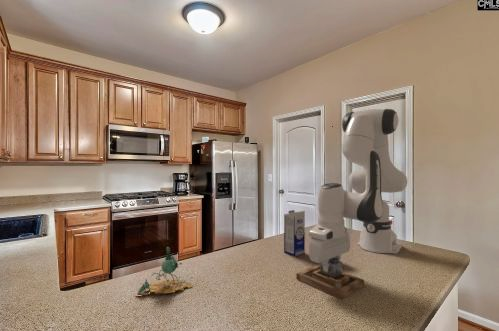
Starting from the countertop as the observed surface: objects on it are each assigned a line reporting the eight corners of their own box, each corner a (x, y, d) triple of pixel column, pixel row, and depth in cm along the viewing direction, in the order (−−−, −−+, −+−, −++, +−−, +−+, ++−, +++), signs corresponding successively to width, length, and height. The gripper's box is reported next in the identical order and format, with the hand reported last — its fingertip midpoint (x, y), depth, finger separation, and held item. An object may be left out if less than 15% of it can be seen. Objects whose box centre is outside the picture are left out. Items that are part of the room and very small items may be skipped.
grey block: (326, 270, 90) (326, 254, 90) (341, 276, 85) (341, 259, 86) (320, 273, 88) (320, 257, 88) (335, 279, 83) (335, 262, 83)
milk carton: (294, 256, 110) (294, 212, 110) (283, 252, 115) (283, 210, 116) (304, 253, 115) (305, 210, 115) (293, 249, 120) (293, 208, 120)
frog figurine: (138, 286, 83) (143, 241, 84) (192, 285, 87) (197, 243, 88) (132, 300, 74) (139, 250, 74) (193, 299, 78) (199, 252, 79)
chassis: (319, 268, 97) (319, 261, 97) (363, 285, 83) (363, 276, 83) (296, 278, 88) (296, 270, 88) (341, 299, 75) (341, 289, 75)
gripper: (339, 223, 96) (339, 259, 96) (305, 232, 83) (305, 273, 83) (354, 226, 91) (354, 264, 91) (321, 236, 78) (321, 280, 78)
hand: (331, 269), depth 87 cm, fingers closed on grey block, 4 cm apart
